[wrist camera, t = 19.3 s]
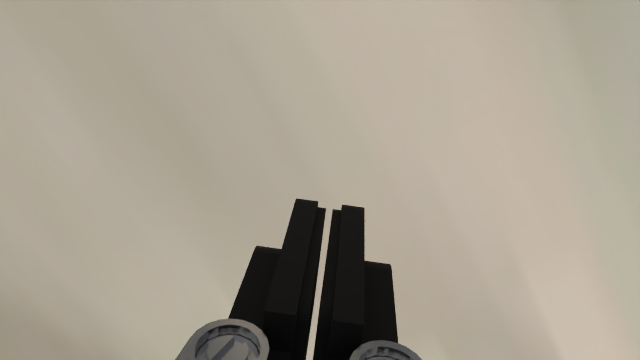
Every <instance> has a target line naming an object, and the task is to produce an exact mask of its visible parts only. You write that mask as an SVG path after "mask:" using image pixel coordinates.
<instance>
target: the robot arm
mask: <svg viewBox="0 0 640 360" xmlns="http://www.w3.org/2000/svg"><path fill="white" fill-rule="evenodd" d="M325 212H326V208H319V207H318V201H311V200H303V199H296V201H295V204H294V208H293V211H292V215H291V218H290V222H289V225H288V229H287V232H286V236H285V239H284V243H283V246H282V249H276V248H269V247H261V246H256V248H255V250H254V252H253V255H252V257H251V260H250V263H249V265H248V268H247V270H246V273H245V276H244V278H243V281H242V284H241V286H240V289H239V292H238V294H237V297H236V299H235V302H234V305H233V307H232V310H231V313H230V315H229V318H228V319H222V320H217V321H214V322H211V323H208V324H206V325H205V326H203V327H201V328H200V329H198V330H197V331H196V332H195V333H194V334H193V335H192V336H191V338H190V339H189V340H188V342H187V343H186V345H185V346H184V348H183V349H182V351H181V352H180V354H179V355H178V357H177V358H176V359H175V360H306V354H307V347H308V340H309V333H310V326H311V319H312V313H313V306H314V298H315V291H316V283H317V275H318V267H319V259H320V251H321V243H322V236H323V228H324V220H325ZM313 360H422V359H421V358H420V357H419V356H418V355H417V354H416V353H415V352H413V351H412V350H410V349H409V348H407V347H406V346H403V345H401V344H398V336H397V325H396V314H395V303H394V291H393V280H392V269H391V265H390V264H384V263H377V262H370V261H364V208H363V207H355V206H348V205H342V209H341V210H334V209H333V212H332V220H331V227H330V235H329V242H328V250H327V257H326V264H325V272H324V279H323V287H322V294H321V301H320V309H319V317H318V325H317V333H316V340H315V348H314V356H313Z"/></svg>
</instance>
